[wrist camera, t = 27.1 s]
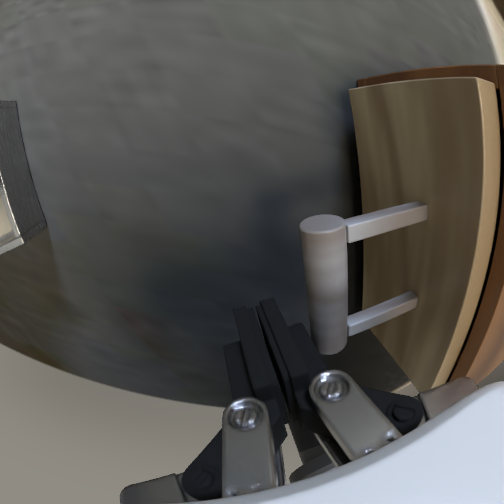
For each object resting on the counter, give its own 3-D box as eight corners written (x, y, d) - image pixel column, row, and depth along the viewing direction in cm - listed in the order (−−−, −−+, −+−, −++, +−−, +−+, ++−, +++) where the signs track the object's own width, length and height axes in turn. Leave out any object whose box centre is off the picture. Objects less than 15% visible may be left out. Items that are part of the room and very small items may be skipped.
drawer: (289, 344, 16) (335, 446, 10) (244, 99, 10) (318, 54, 4) (492, 255, 18) (547, 293, 11) (499, 104, 12) (572, 120, 6)
